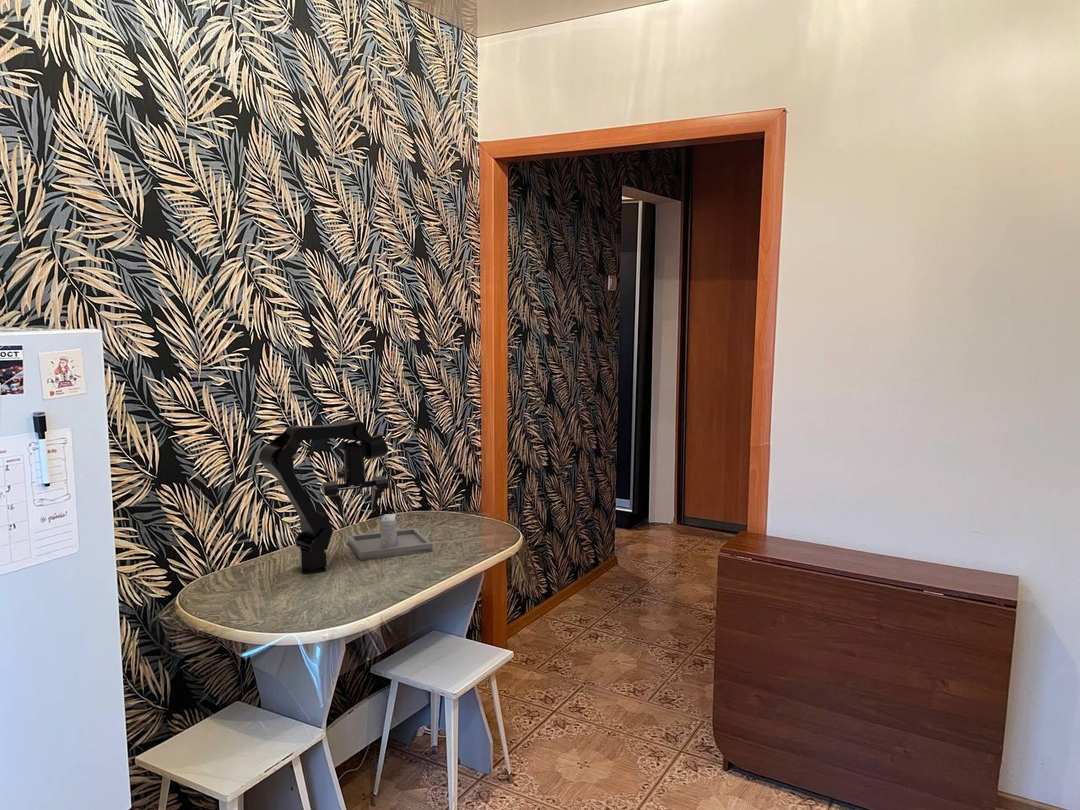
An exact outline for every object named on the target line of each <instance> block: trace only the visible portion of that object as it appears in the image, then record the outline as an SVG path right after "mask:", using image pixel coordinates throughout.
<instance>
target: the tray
mask: <svg viewBox="0 0 1080 810" xmlns="http://www.w3.org/2000/svg"><path fill="white" fill-rule="evenodd" d="M347 545H348V546H349V547H350V549H351V550H352V551H353V553H354V554H355V556H356V557H357V558H358V559H359V561H368V560H369V559H370V560H376V559H375V558H378V559H383V558H384V559H385V558H393V557H400V556H408V555H415V554H423V553H431V551H432V552H433V542H431V541H430V540H429V539H428V538H427V537H426V536H425V535H424V534H422V533H421V532H420V531H419V529H418V528H416V527H415V528H406V529H405V528H404V529H397V543H396V547H390V548H381V531H378V532H371V533H361V534H352V535H347Z"/></svg>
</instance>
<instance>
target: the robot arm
mask: <svg viewBox="0 0 1080 810" xmlns="http://www.w3.org/2000/svg"><path fill="white" fill-rule="evenodd" d="M330 439H331V440H332V439H342V441H341V442H340V443H339V444H338V445H337V446H336V449H337V450H341V451H343V461H344V462H343V463H344V467H336V468H335V470H336V472H335V473H336V479H337V480H339V479H342V480H343V482H344V483H337V482H336V480H334V481H325V482H323V483H322V484H321V491H322V493H323V496H324V497H328V498H329V499H333V501H334V503H335V505H336V508H337V511H338V513H339V515H340V516H341V517H343V507H342V501H341V495H340V494H339V491H349V490H355V489H362V488H363V489H364V488H371V503H370V504H371V513H374V511H375V509H376V506H377V504H378V501H379V499H380V497H381V495H382V493H385V491H386V490H388V489H390V481H389V479H388V478H387V477H385V475H380V476H379V475H378V476H372V477H371V480H366V470H365V469H366V467H365V466H366V464H365V460H368V461H369V460H372V459H379V458H382V457H386V456H387V454H388V452H389V447H388V445H387V442H386V440H385V439H384V435H383V434H380V433H379V434H374V435H371V434H370V432H369V431H368V430H367V427H366V425H365V423H364V422H362V421H359V420H353V419H348V418H347V419H343V420H339V421H336V422H334V423H331V424H316V425H314V424H313V425H298V426H297V425H290V426H288V427H287V428H286V429H285V430H284V431H283V432H282V433H281V434H279V435H278V436H276V437H275V438H273V439H272V440H271V441H270V442H269V443H268V444H267V445H266V446H263V447H262V448H261V450H260V452H259V456H258V459H259V460H258V461H260V464H261V465H262V466H263V467H264V468H265V470H267V471H268V472H269V473H270V474H271V475H272V476H274V477H275V478H276V479H277V481H278V483H279V484H280V486H281V487H282V489H283V491H284V493H285V494H286V496H287V498H288V500H289V502H290V503H291V505H292V507H293V509H294V510H295V512H296V513H297V516H298V517H299V528H300V532H299V534H298V535H297V537H296V538H295V539H294V543H295V545H296V547H297V548H299V565H298V568H299V570H300V572H301V574H303V575H305V574H309V573H310V574H311V573H317V572H318V573H319V572H320V573H321V572H325V571H326V570H327V569H326V567H327V566H328V565H327V552H326V551H327V550H328V548H329V544H330V541H331V538H332V536H333V533H334V530H333V526H334V524H333V523H331V521H330V519H329V517H328V514H327V513H324V512H319V511H318V510H316V509H315V507H314V505H313V504H312V502H311V500H310V499H309V496H308V495H307V493H306V491H305V490H304V488H303V486H302V484H301V483H300V481H299V479H298V477H297V475H296V474H295V471H294V470H295V468H294V467H295V466H294V464H295V463H294V460H293V458H294V456H295V455H296V454H297V453H298V450H299V448H300V445H301V443H302V442H303V441H314V440H317V441H318V440H330ZM346 440H347V441H346ZM348 441H350V442H348Z"/></svg>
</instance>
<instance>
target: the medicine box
mask: <svg viewBox="0 0 1080 810" xmlns="http://www.w3.org/2000/svg"><path fill="white" fill-rule="evenodd" d="M397 530H398V515H397V513H396V514H395V513H391V514H389V513H388V514H387V513H386V514H383V515H382V517H381V521H380V532H381V548H390V547H396V543H397Z"/></svg>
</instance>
